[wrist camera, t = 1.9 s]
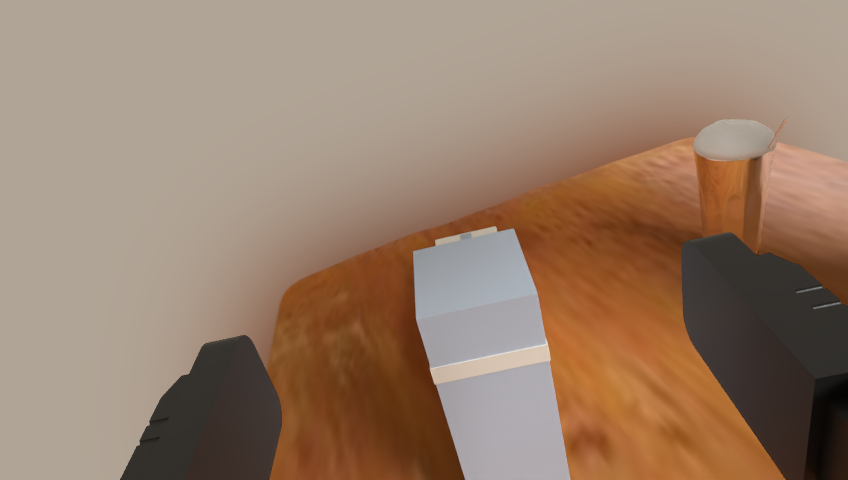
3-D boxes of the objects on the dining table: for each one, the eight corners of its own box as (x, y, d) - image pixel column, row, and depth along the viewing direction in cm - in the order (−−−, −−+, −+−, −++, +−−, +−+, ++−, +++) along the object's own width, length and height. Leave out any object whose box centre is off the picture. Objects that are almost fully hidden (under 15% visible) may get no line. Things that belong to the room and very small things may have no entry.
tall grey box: (576, 504, 27) (539, 293, 21) (477, 523, 27) (414, 320, 22) (550, 420, 31) (514, 227, 26) (466, 437, 32) (411, 250, 26)
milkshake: (754, 283, 37) (760, 133, 32) (680, 254, 41) (676, 119, 36) (797, 251, 38) (810, 104, 34) (722, 227, 43) (723, 93, 38)
